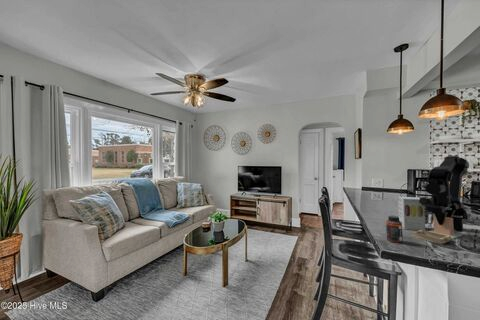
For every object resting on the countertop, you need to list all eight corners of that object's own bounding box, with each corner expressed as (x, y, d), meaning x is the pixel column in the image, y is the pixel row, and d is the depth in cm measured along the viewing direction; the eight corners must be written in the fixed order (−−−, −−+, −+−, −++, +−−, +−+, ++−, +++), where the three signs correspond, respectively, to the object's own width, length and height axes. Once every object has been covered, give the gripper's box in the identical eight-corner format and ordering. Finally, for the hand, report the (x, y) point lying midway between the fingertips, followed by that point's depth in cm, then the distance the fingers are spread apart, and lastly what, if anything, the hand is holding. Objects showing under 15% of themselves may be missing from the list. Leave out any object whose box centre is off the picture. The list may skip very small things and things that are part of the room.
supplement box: (404, 229, 111) (402, 198, 111) (398, 224, 119) (396, 196, 120) (426, 231, 107) (424, 199, 108) (418, 226, 115) (417, 196, 116)
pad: (435, 230, 108) (435, 229, 108) (462, 235, 99) (462, 234, 99) (426, 233, 104) (426, 231, 104) (453, 239, 95) (452, 237, 95)
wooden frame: (421, 233, 103) (421, 229, 103) (451, 240, 93) (450, 236, 93) (411, 236, 99) (411, 232, 99) (441, 244, 89) (441, 239, 89)
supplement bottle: (406, 243, 90) (404, 218, 91) (390, 242, 91) (389, 217, 92) (398, 239, 96) (397, 215, 96) (384, 238, 97) (383, 214, 98)
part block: (438, 230, 105) (437, 215, 105) (453, 234, 100) (452, 217, 100) (434, 232, 103) (433, 216, 104) (450, 235, 98) (449, 218, 98)
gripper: (430, 190, 113) (432, 218, 113) (412, 192, 106) (414, 222, 105) (458, 192, 103) (460, 223, 103) (440, 195, 95) (442, 228, 95)
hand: (443, 224), depth 102 cm, fingers open, 5 cm apart
